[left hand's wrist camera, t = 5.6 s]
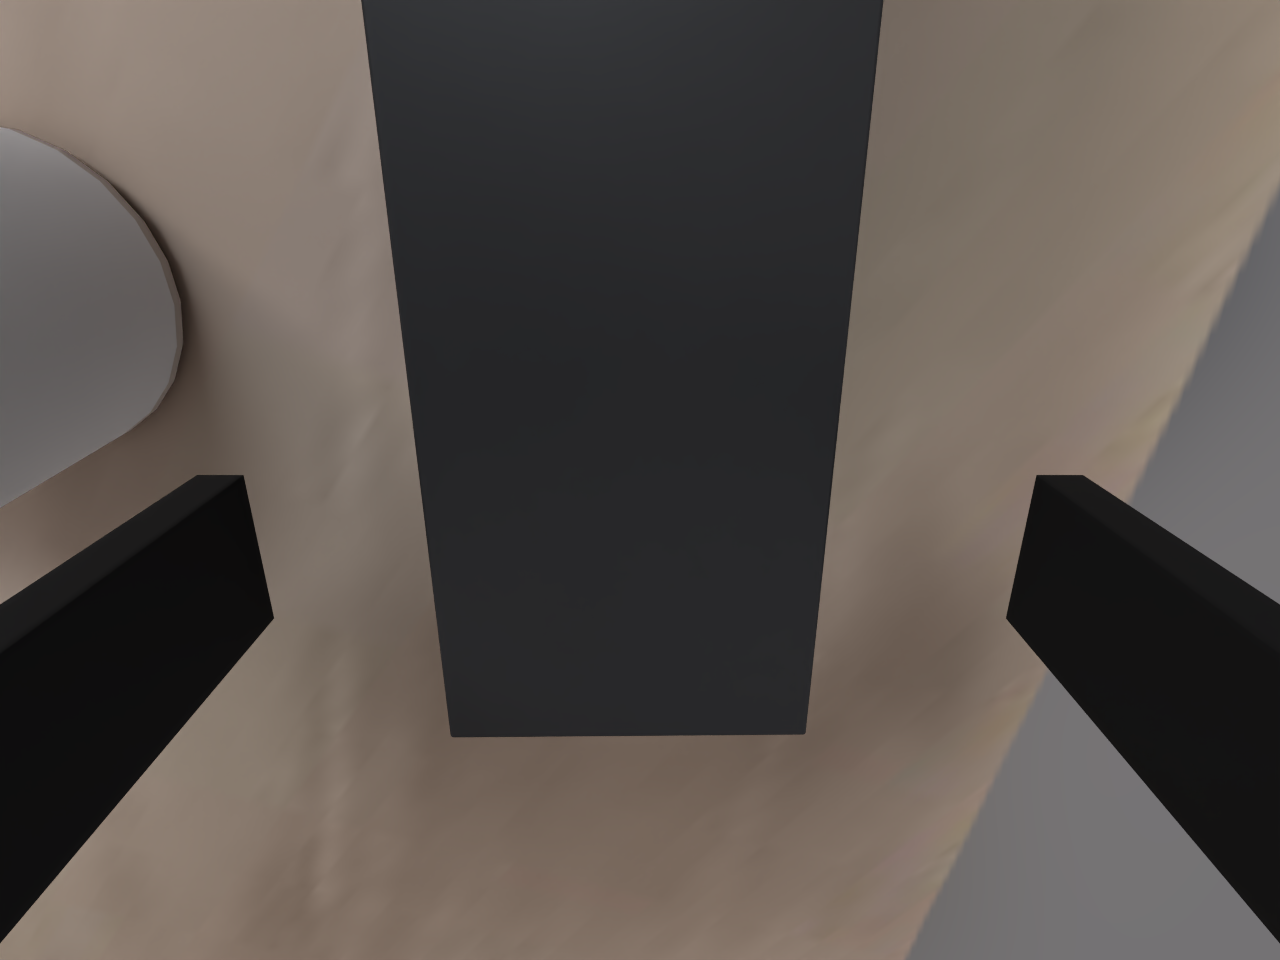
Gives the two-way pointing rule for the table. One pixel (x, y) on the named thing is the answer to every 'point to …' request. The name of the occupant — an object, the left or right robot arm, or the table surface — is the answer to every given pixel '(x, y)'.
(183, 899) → the table surface
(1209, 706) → the left robot arm
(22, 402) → the mug
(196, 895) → the table surface
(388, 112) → the box
